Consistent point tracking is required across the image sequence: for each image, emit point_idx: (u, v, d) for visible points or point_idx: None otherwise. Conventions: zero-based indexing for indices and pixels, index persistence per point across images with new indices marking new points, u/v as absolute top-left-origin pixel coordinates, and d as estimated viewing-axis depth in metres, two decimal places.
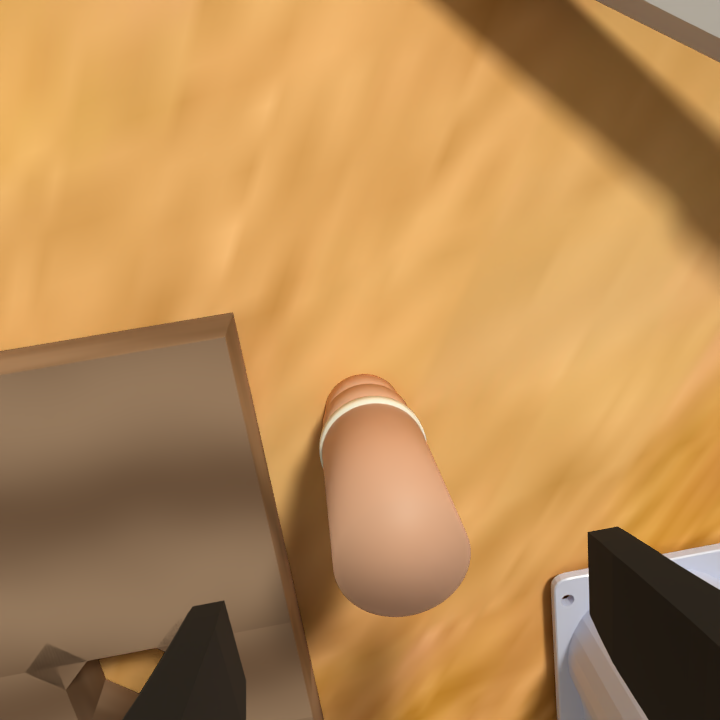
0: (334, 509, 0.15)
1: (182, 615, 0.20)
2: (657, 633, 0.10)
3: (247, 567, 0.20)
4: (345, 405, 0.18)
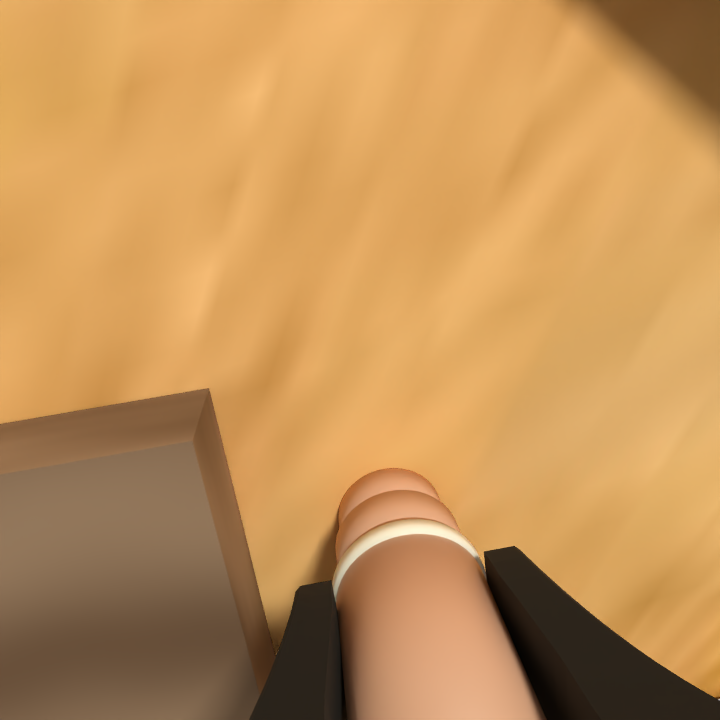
0: None
1: None
2: (533, 657, 0.10)
3: None
4: (370, 534, 0.12)
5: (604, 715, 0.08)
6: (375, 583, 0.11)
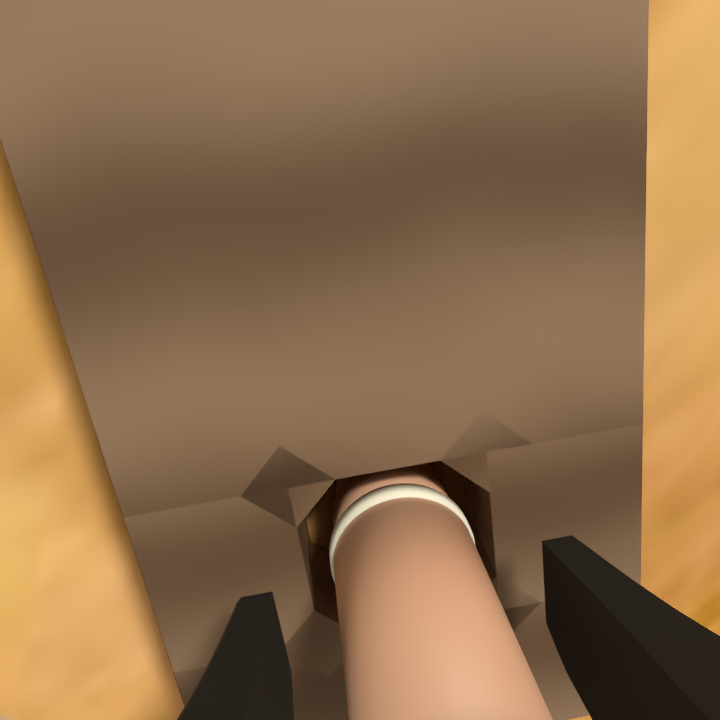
0: (359, 686, 0.10)
1: (487, 405, 0.13)
2: (602, 644, 0.10)
3: (598, 323, 0.13)
4: (370, 496, 0.13)
5: (694, 697, 0.08)
6: (373, 537, 0.12)
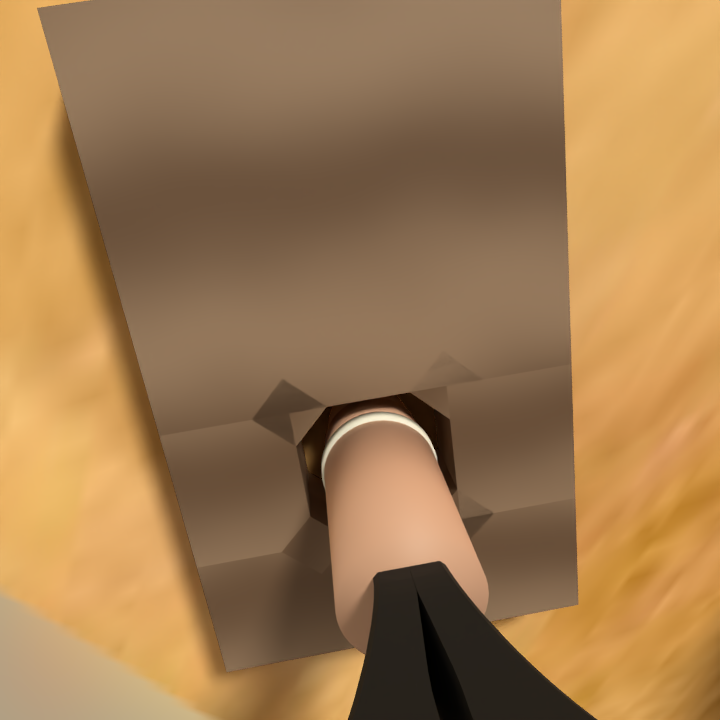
0: (339, 539, 0.13)
1: (446, 347, 0.17)
2: (443, 675, 0.10)
3: (532, 282, 0.16)
4: (353, 420, 0.17)
5: None
6: (354, 447, 0.16)
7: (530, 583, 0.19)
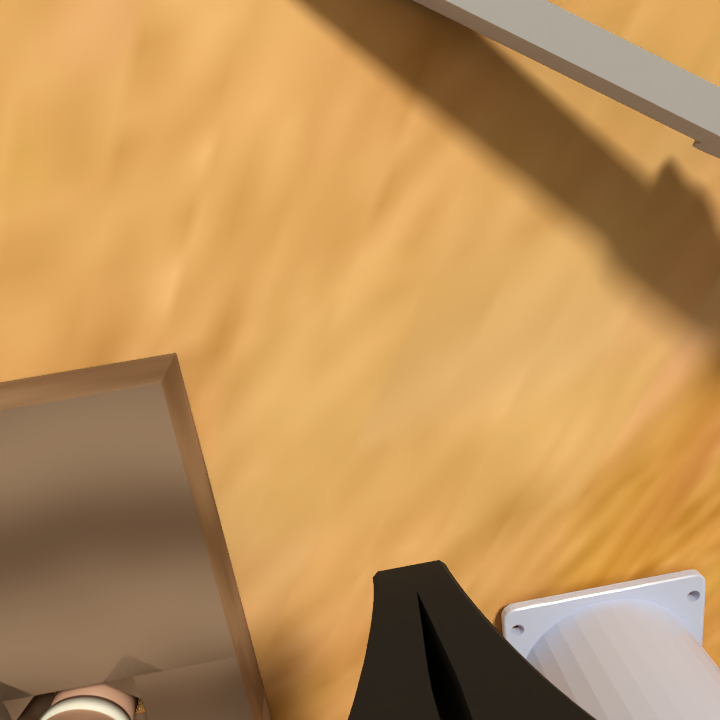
0: None
1: (127, 651, 0.21)
2: (443, 675, 0.10)
3: (190, 604, 0.20)
4: (56, 706, 0.21)
5: None
6: None
7: None
